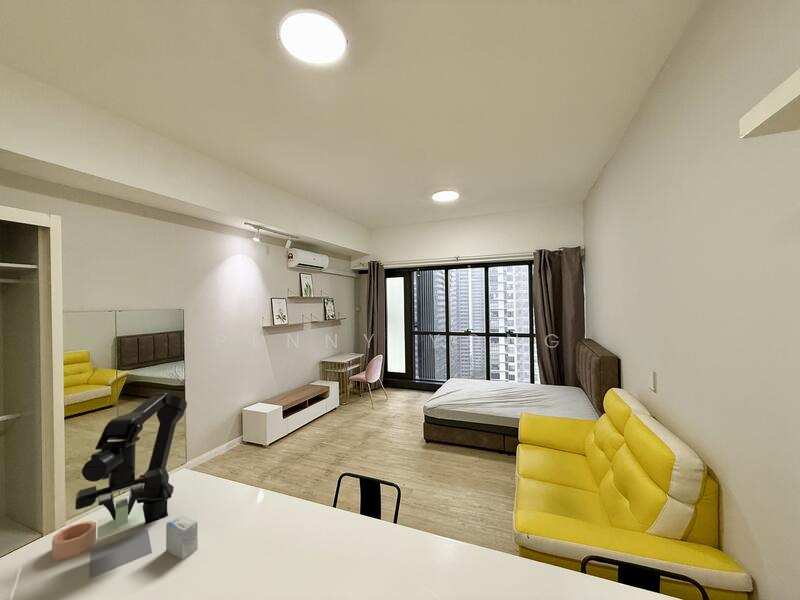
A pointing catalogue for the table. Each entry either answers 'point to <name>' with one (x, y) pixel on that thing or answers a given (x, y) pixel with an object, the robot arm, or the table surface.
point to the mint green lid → (120, 520)
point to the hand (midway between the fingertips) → (121, 516)
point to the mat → (119, 553)
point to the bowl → (73, 540)
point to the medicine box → (181, 536)
